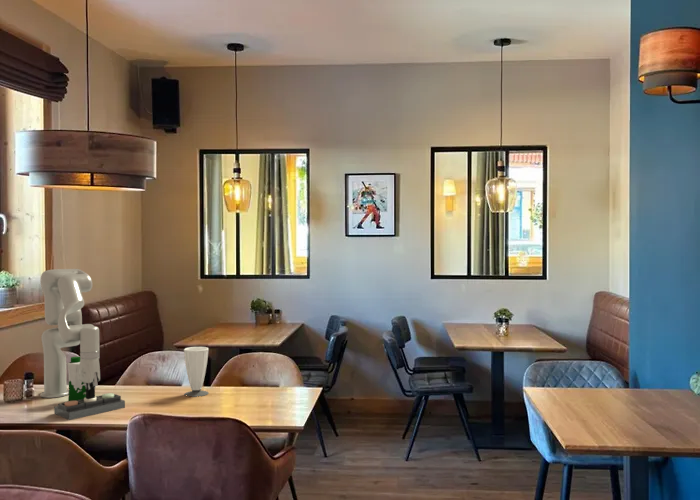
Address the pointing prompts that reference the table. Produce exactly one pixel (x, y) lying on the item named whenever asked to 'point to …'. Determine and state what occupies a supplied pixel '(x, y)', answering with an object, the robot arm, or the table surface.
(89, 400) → the button cream
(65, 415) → the panel
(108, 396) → the button sage
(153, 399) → the table surface
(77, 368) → the milk carton
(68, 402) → the button terracotta
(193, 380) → the cup
